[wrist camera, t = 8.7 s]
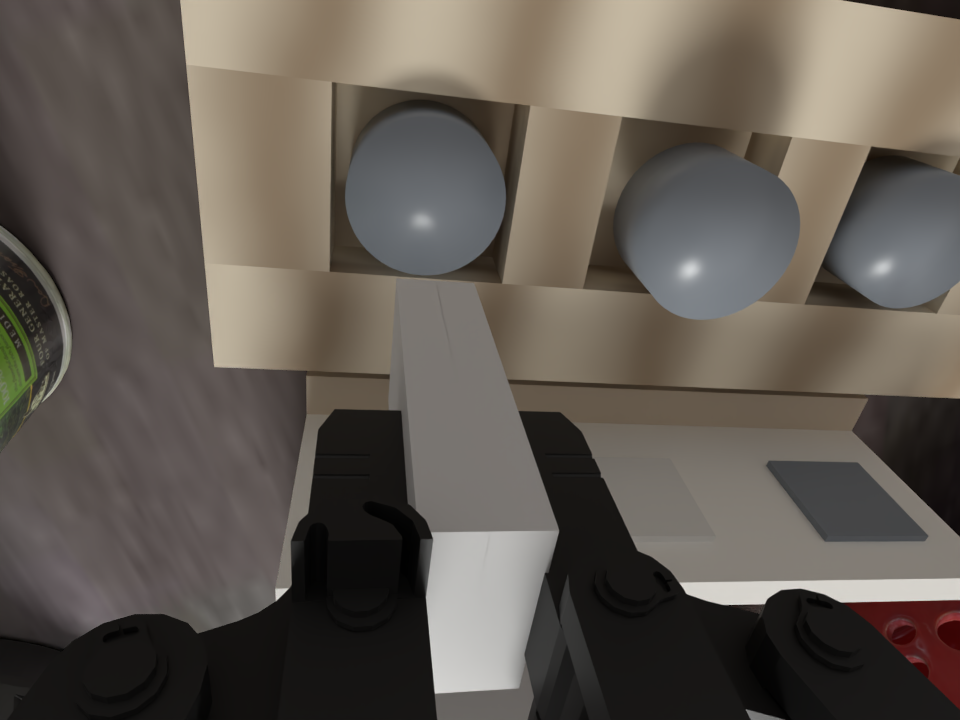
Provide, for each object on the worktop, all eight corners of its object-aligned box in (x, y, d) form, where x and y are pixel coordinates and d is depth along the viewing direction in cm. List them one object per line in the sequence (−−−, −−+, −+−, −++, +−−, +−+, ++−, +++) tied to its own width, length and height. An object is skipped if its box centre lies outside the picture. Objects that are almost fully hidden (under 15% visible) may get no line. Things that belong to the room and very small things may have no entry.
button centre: (598, 277, 23) (625, 315, 21) (633, 134, 21) (668, 157, 18) (725, 286, 24) (766, 323, 21) (773, 150, 21) (825, 174, 19)
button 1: (791, 272, 26) (835, 304, 24) (841, 148, 24) (895, 169, 21) (897, 280, 27) (949, 312, 25) (956, 161, 25) (1021, 183, 22)
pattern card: (309, 456, 29) (278, 653, 21) (308, 363, 27) (273, 543, 18) (815, 466, 34) (959, 631, 25) (855, 387, 31) (1029, 541, 23)
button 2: (347, 237, 23) (343, 270, 21) (351, 91, 21) (346, 107, 18) (482, 248, 24) (494, 280, 22) (502, 108, 22) (517, 127, 19)
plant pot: (1008, 497, 37) (1242, 694, 27) (928, 638, 44) (1091, 838, 34) (797, 519, 36) (960, 735, 26) (748, 662, 43) (862, 877, 33)
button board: (231, 327, 26) (214, 366, 23) (199, -98, 19) (170, -110, 16) (922, 364, 31) (970, 398, 29) (1098, 47, 24) (1183, 56, 22)
